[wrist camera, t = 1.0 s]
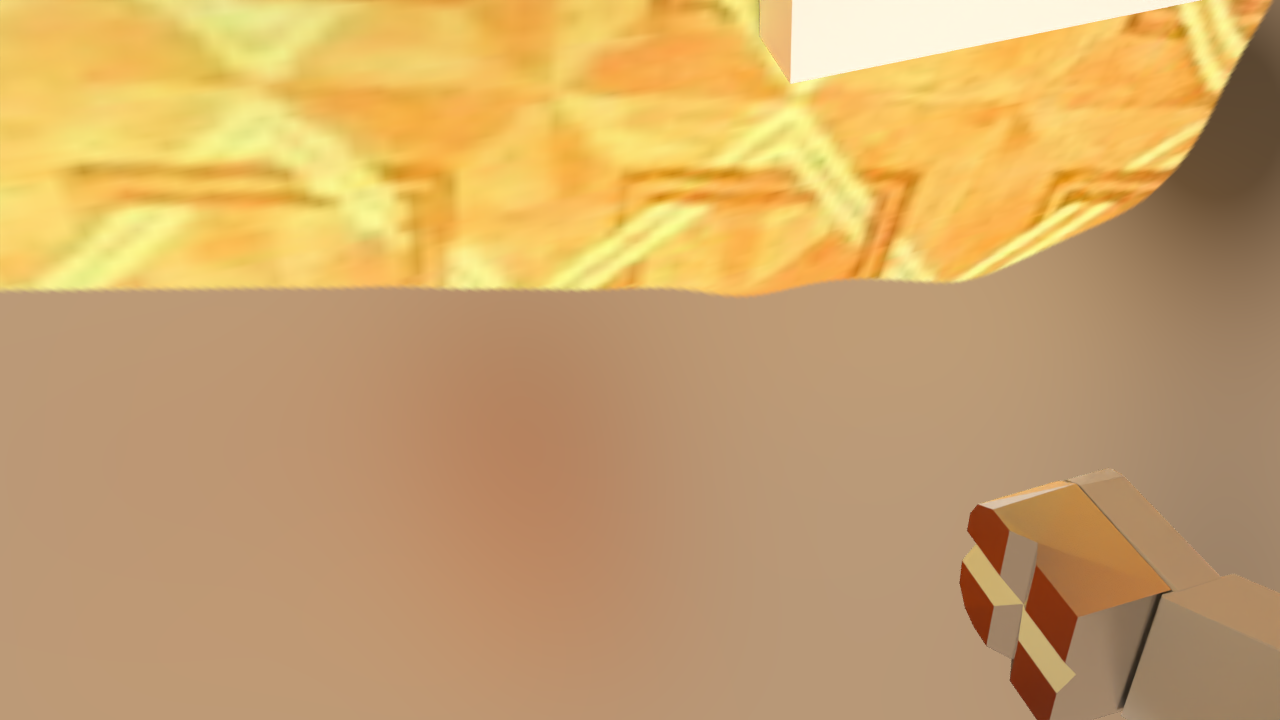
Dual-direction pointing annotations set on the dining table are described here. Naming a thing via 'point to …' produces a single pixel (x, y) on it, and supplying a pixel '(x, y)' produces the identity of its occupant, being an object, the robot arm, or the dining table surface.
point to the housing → (912, 28)
